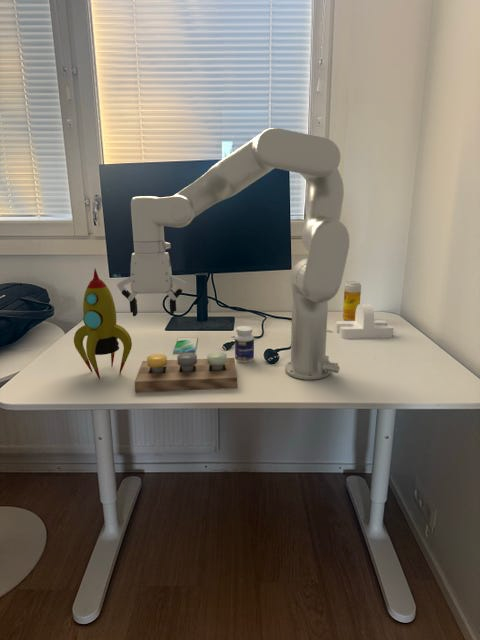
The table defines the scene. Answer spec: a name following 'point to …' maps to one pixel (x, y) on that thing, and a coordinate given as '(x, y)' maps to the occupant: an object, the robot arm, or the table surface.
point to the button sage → (217, 360)
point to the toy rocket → (100, 326)
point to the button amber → (157, 362)
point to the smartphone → (185, 345)
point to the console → (186, 377)
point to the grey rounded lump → (187, 361)
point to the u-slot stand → (364, 325)
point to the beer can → (351, 299)
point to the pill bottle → (244, 344)
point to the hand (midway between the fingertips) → (153, 314)
